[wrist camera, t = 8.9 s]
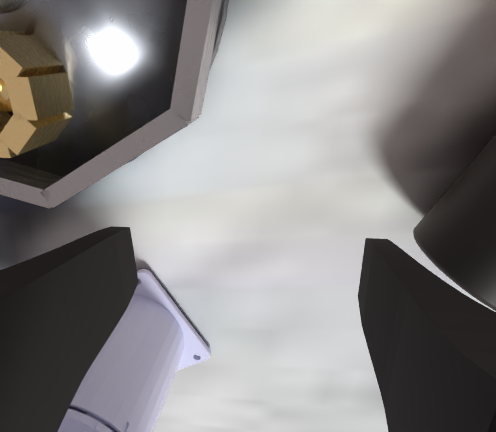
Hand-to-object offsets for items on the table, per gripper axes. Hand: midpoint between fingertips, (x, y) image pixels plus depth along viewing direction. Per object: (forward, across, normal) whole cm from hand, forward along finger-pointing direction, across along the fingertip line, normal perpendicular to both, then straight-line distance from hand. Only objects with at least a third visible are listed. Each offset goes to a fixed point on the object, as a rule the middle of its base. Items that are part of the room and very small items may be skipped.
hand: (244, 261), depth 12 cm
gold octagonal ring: (+9, +13, -4) cm, 16 cm away
